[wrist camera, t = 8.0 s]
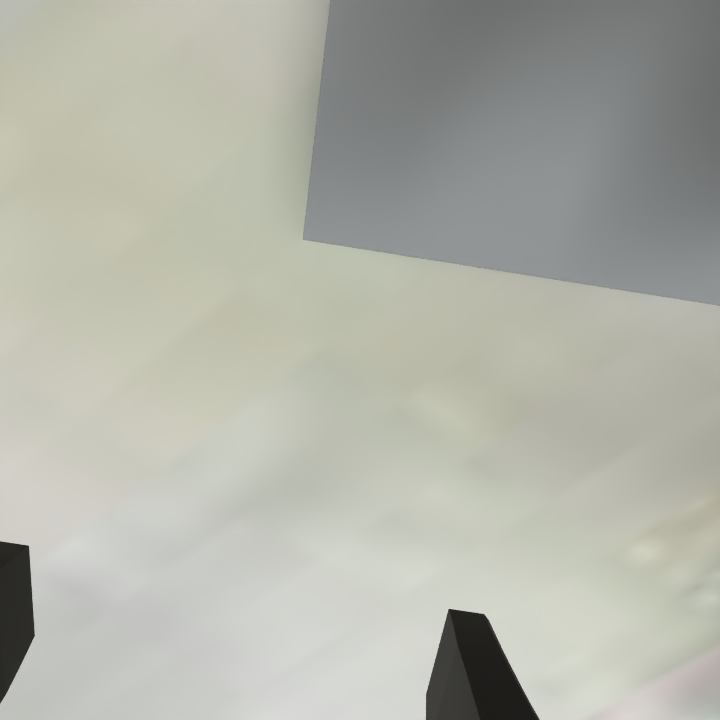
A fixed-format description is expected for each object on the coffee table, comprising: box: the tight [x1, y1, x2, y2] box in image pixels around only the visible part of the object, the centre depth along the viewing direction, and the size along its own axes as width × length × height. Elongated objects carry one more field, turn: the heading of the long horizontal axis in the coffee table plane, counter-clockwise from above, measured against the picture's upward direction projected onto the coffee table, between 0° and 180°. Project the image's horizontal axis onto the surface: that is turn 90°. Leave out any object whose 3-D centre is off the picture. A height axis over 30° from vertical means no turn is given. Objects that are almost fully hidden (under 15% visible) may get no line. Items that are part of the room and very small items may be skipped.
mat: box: [303, 0, 720, 306], centre depth 16 cm, size 13×13×1 cm
